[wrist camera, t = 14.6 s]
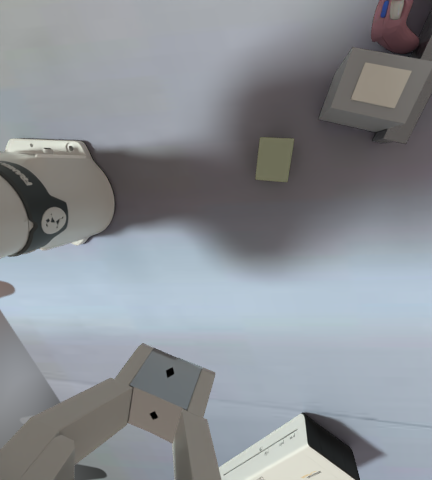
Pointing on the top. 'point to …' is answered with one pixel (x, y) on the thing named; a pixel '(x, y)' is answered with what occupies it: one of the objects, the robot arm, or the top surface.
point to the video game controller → (393, 26)
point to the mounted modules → (374, 90)
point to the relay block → (274, 159)
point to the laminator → (294, 456)
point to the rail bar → (428, 50)
